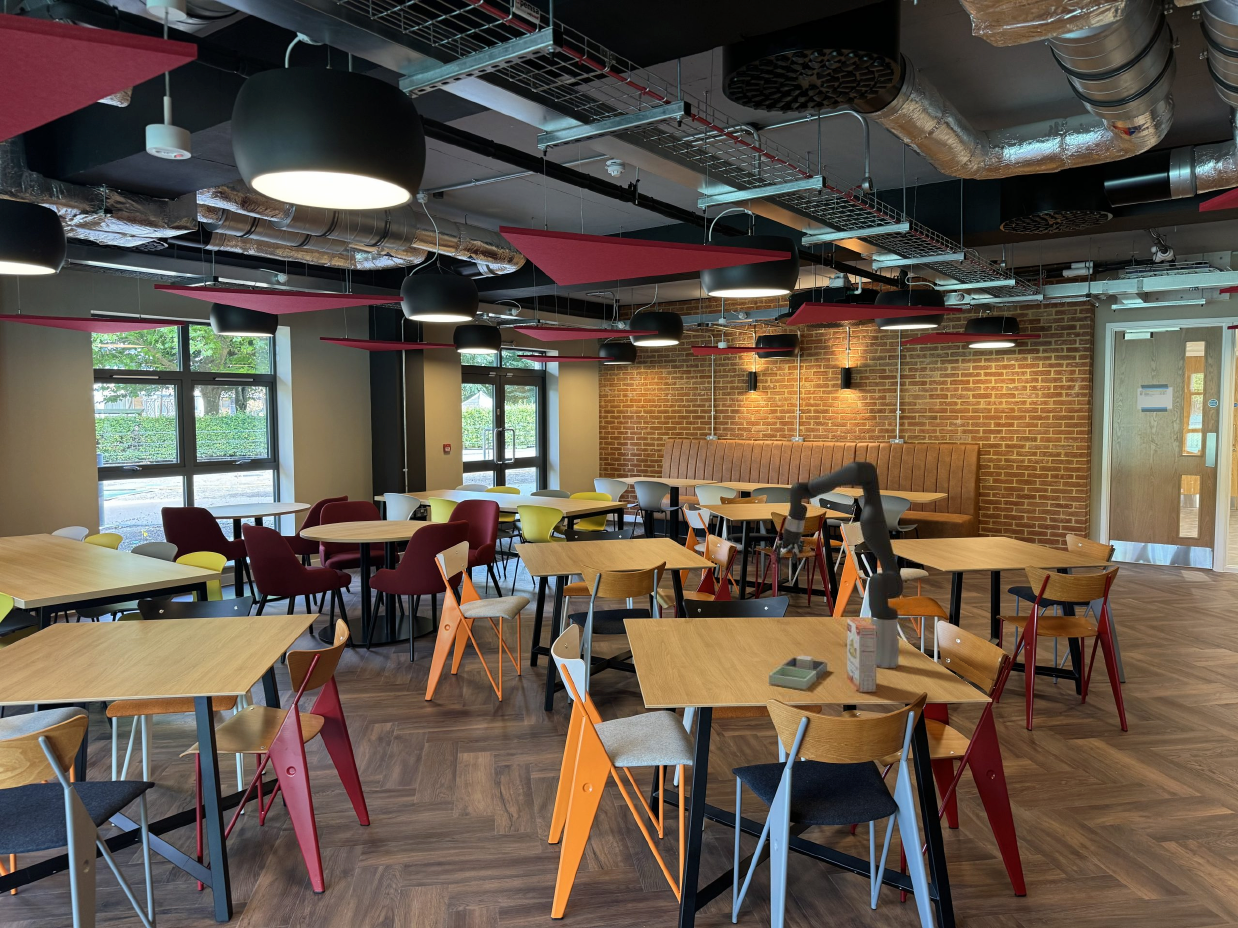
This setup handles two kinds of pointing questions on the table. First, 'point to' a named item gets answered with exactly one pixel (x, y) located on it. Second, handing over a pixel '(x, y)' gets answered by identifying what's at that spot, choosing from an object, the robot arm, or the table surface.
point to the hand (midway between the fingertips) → (785, 562)
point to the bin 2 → (817, 666)
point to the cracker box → (861, 654)
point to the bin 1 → (792, 678)
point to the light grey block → (804, 662)
